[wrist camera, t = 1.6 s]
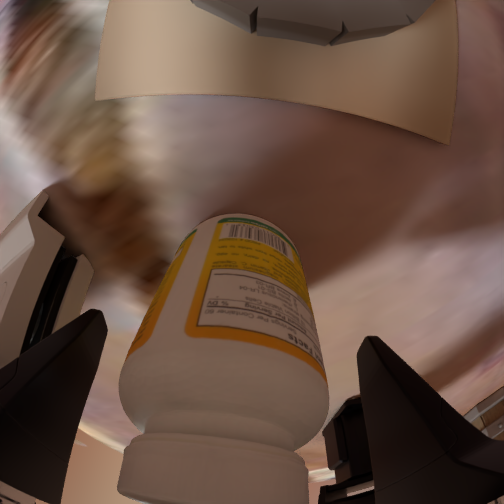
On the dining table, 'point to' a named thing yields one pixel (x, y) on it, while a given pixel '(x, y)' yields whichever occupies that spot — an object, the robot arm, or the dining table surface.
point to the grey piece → (36, 282)
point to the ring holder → (291, 55)
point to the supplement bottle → (225, 373)
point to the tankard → (489, 415)
